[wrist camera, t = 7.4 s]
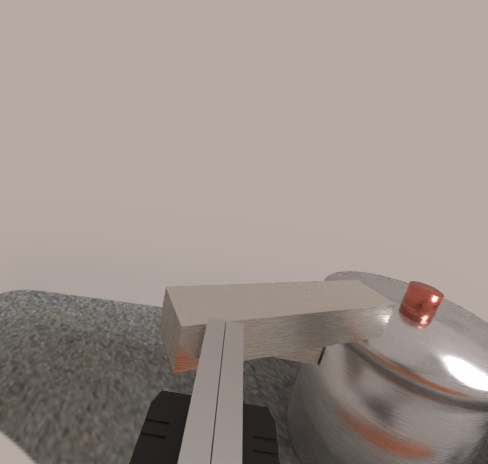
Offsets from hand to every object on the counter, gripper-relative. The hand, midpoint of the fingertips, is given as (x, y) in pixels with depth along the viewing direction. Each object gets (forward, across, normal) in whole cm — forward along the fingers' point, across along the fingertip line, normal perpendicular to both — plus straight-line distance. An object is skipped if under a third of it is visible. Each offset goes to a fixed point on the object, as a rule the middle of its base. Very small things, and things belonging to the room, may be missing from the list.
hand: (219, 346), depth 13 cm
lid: (+7, +10, -3) cm, 13 cm away
